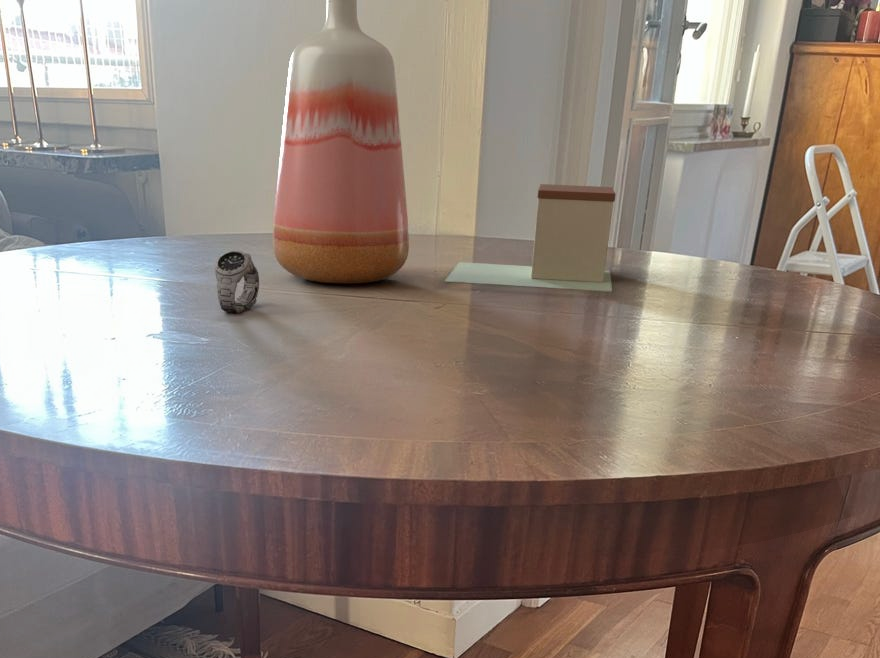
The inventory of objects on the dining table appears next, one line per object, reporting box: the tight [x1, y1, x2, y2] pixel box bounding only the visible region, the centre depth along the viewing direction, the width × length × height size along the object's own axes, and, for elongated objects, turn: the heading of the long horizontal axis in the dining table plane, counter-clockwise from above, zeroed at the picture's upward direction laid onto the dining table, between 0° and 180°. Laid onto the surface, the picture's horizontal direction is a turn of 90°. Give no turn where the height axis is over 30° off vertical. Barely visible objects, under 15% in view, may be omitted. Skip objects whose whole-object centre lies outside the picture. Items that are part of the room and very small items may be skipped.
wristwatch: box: [214, 250, 260, 314], centre depth 86 cm, size 4×6×5 cm, turn 164°
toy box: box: [531, 183, 616, 282], centre depth 107 cm, size 8×8×9 cm
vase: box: [272, 0, 410, 285], centre depth 96 cm, size 14×14×30 cm
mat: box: [443, 261, 613, 293], centre depth 108 cm, size 18×14×1 cm
